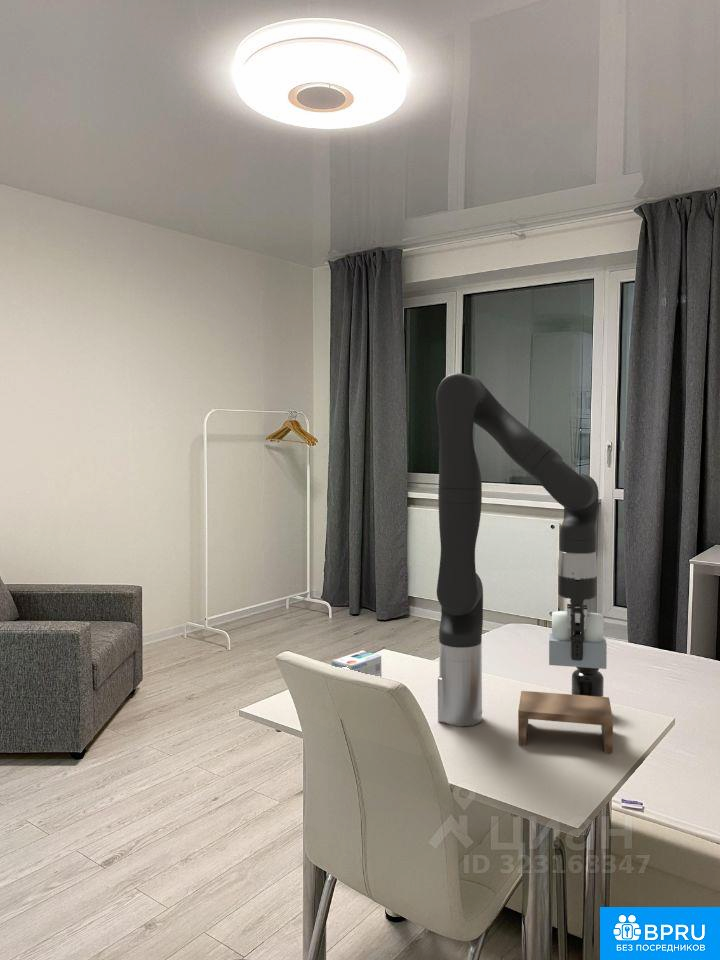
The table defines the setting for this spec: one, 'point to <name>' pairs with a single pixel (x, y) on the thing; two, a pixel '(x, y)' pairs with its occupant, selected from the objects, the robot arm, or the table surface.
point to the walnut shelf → (566, 712)
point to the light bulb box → (361, 662)
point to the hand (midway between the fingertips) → (576, 655)
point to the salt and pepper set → (591, 646)
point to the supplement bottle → (587, 682)
